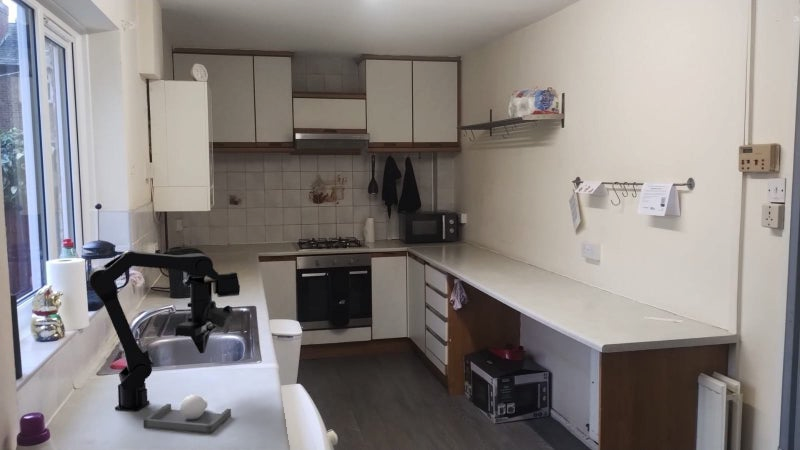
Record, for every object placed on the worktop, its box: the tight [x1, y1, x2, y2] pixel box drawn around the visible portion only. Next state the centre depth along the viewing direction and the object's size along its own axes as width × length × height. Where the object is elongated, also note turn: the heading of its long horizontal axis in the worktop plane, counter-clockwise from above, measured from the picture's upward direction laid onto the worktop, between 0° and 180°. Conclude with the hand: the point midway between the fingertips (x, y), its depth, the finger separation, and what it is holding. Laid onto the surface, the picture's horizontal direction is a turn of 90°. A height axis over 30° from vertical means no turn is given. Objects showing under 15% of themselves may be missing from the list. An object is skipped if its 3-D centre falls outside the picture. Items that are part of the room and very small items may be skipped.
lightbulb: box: [179, 394, 208, 420], centre depth 162 cm, size 6×6×11 cm
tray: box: [142, 403, 232, 435], centre depth 159 cm, size 18×11×2 cm, turn 80°
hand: (202, 352), depth 176 cm, fingers closed
